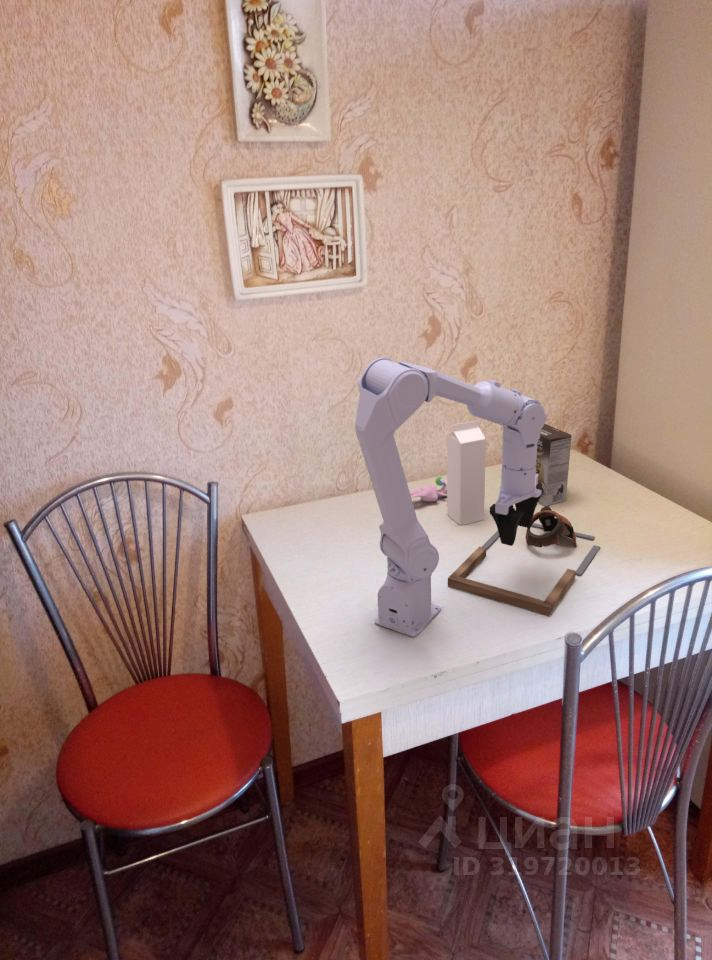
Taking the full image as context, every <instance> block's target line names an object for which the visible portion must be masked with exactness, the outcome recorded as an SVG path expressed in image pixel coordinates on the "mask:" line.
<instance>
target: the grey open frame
mask: <svg viewBox="0 0 712 960" xmlns="http://www.w3.org/2000/svg"><path fill="white" fill-rule="evenodd" d="M531 528H535V529H538V530H543V531H544V529H543V526H542V524H541V523H536V522H534V523H533V524H532V526H531ZM574 533H575V536H576V538H578V539H579V538H580V539H583V540H588V541H594V540H595V536H594V535H589V534H584V533H581V532H577V531H574ZM498 539H500V536H499V532H498V530H496V531H495V532H494V534H492V536H490V538H489V539H488V540H486V542H484V544H483V545H482V546H481V547H483V548H486V551H488V549H489V548H491V546H492V545H493V544H494V543H495V542H496V541H497V540H498ZM600 549H601V546H599V545H597V544H596V545H595V544H593V546H592V547H591V549H590V550H589V552H588V553H587V555H586V556H585V557H584V559H583V560H582V562H581V563H580V564H579V565H578V566H577V568H576V570H575V571H576V573H575V576H577V577H582V575H583V574H584V572H585V571H586V570H587V568H588V567H589V565H590V564H591V562H592V560H593V559H594V558H595V556H596V555H597V554H598V552H599V551H600Z"/></svg>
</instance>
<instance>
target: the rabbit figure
mask: <svg viewBox="0 0 712 960" xmlns="http://www.w3.org/2000/svg"><path fill="white" fill-rule="evenodd" d="M441 479H442V476H438V477H436V478H435V484H436V485H437V486H438V487H439V486H440V487H441V488H440V489H437V486H432V485H423V486H421V487H420V488H412V489H409V492H410V496H411V499H414V498H418V497H419V498H420V499H421V500H422V501H424V502H432V503H433V502H436V501H438V499H439V497H440V498H442V497H447V483H445V481H443V480H441Z"/></svg>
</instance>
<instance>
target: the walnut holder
mask: <svg viewBox="0 0 712 960" xmlns="http://www.w3.org/2000/svg"><path fill="white" fill-rule="evenodd" d="M486 557H487V550H486V548H483V547H482V546H478V547H477V548H476V549H475V550H474V551H473V552H472V553H471V554H470V555H469V556H468V557H467V558H466V559H465V561H463V562H462V563H461V564H460V565H459V566H458V567H457V568H456V569H455V570H454V571H453V572H452V573H451V574H450V575H449V576H448V577H447V587H448V588H451V589H454V590H457V591H461V592H464V593H469V594H472V595H474V596H478V597H481V598H485V599H488V600H492V601H494V602H495V601H496V602H499V603H500V604H501V603H502V604H505V605H509V606H512V607H515V608H518V609H522V610H525V611H529V612H533V613H535V614H539V615H542V616H545V617H546V616H547V617H550V616H551V615H552V614H553V612H554V610H555V609H556V608H557V606H558V605H559V603H560V602H561V600H562V599H563V597H564V596H565V594H566V593H567V592H568V590H569V589H570V587H571V586H572V585H573V583H574V581H575V580H576V575H575V573H576V570H575V569H574V570H573V569H570V568H567V569H566V570H565V572H564V573H563V574H562V576H561V577H560V578H559V579H558V581H557V583H556V584H555V585H554V586H553V588H552V589H551V591H550V592H549V594H548V595H547V596H546V598H545V599H539V598H536V597H532V596H529V595H525V594H522V593H518V592H514V591H512V590H508V589H504V588H502V587H501V588H500V587H498V586H495V585H490V584H486V583H483V582H480V581H476V580H472V579H470V578H467V577H468V576H469V575H470V574H471V573H472V572H473V571H474V570H475V568H476V567H477V566H479V564H480V563H482V561H484V559H485V558H486Z"/></svg>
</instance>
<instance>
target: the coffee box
mask: <svg viewBox="0 0 712 960" xmlns="http://www.w3.org/2000/svg"><path fill="white" fill-rule="evenodd" d="M571 444H572V434H571V433H568V432H566V431H563V430H562V429H561V430H560V429H559V428H556V427H553V426H551V425H549V424H547V423H545V424H544V426H543V428H542V429H541V432H540V439H538V442H537V458H536V474H538V484H537V485H536V487H537V488H542V489H543V490H544V493H543V495H542V496H541V498H540V499H539V501H538V504H540V505H543V507H545V506H551V505H554V504H558V503H562V502H565V501H567V492H568V491H567V490H568V482H569V481H568V478H569V470H570V468H569V467H570V459H571V458H570V456H571V446H572V445H571Z"/></svg>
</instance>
